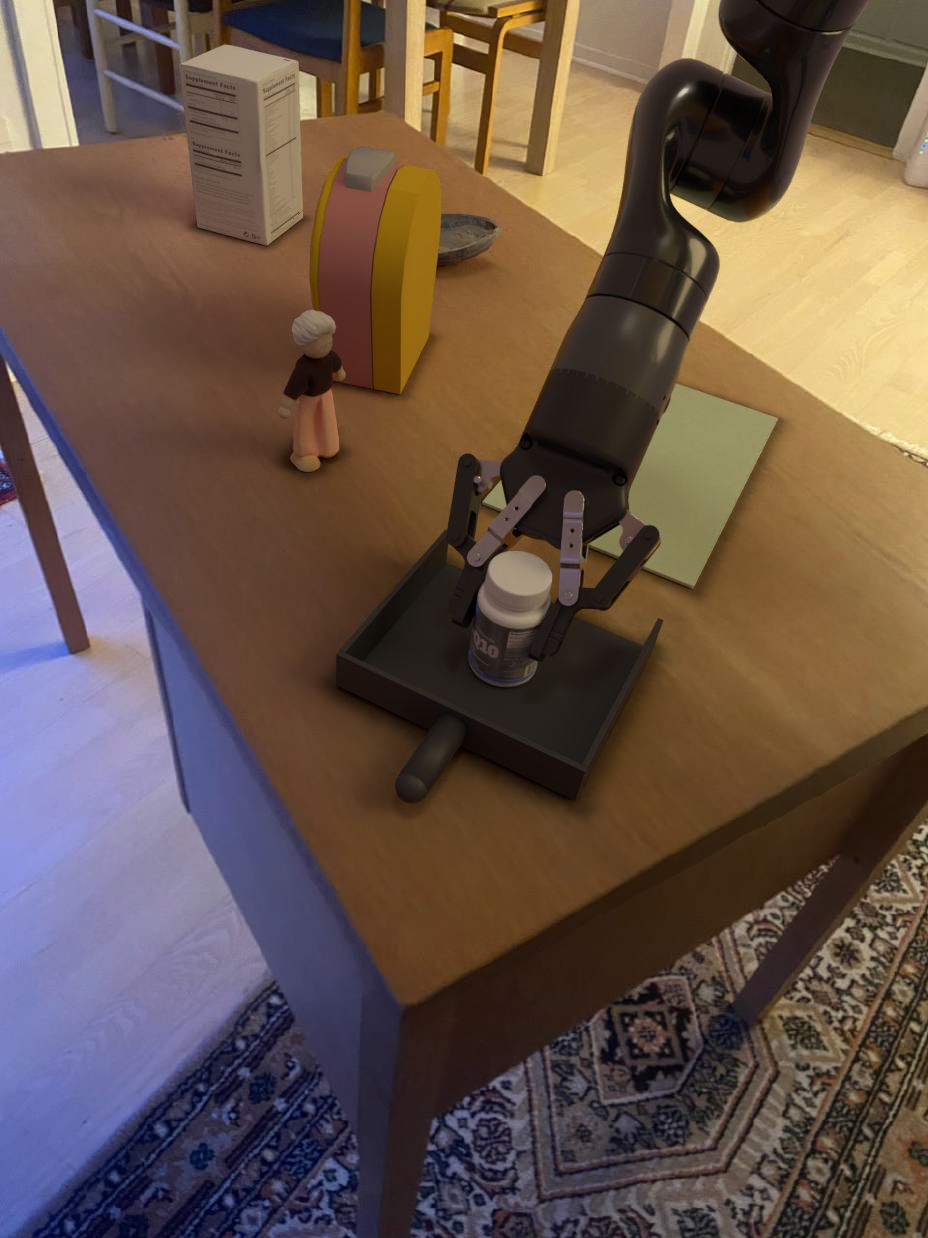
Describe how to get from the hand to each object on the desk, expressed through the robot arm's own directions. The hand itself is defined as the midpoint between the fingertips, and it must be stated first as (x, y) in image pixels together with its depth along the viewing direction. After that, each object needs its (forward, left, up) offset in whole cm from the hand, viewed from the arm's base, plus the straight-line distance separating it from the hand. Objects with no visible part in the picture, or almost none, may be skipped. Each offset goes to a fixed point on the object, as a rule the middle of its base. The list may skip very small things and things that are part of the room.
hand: (497, 641), depth 56 cm
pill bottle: (-2, -1, -4) cm, 4 cm away
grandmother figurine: (-4, -28, -4) cm, 28 cm away
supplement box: (-21, -71, -4) cm, 74 cm away
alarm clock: (-17, -39, -4) cm, 42 cm away
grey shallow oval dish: (-34, -55, -4) cm, 64 cm away
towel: (-28, -13, -4) cm, 31 cm away
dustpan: (+1, +1, -4) cm, 4 cm away
